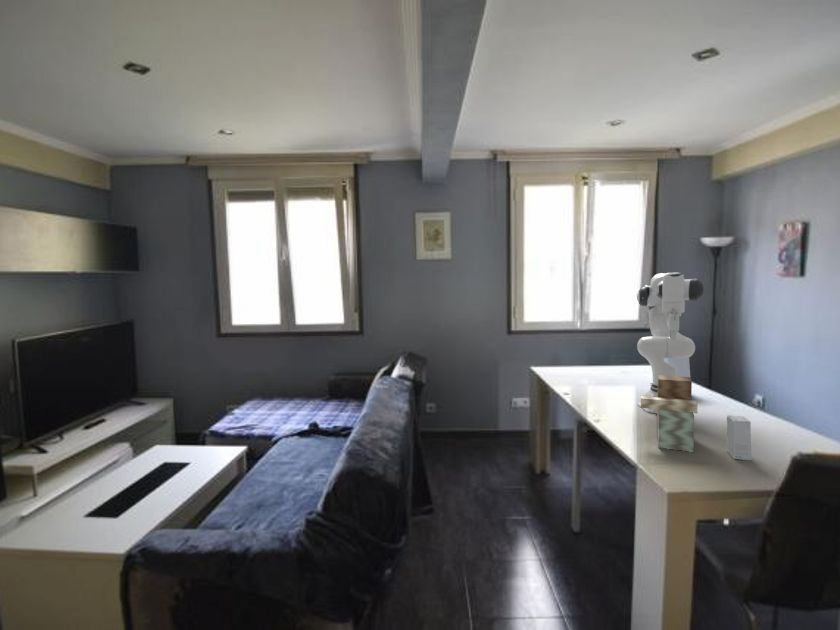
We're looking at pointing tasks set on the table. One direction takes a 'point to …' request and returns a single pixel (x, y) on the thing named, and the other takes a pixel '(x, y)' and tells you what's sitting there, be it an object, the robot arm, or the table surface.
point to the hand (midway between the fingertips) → (672, 339)
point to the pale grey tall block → (680, 365)
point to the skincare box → (739, 437)
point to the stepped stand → (675, 415)
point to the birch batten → (669, 404)
